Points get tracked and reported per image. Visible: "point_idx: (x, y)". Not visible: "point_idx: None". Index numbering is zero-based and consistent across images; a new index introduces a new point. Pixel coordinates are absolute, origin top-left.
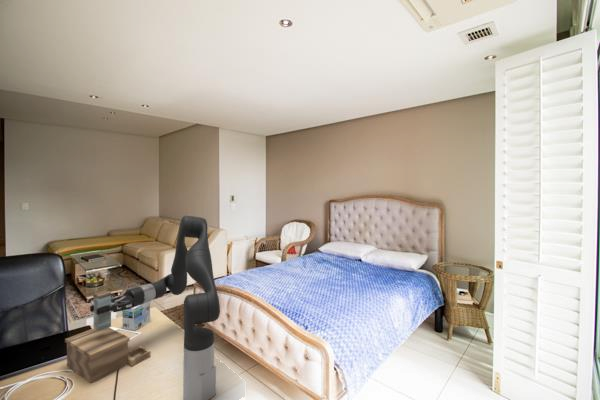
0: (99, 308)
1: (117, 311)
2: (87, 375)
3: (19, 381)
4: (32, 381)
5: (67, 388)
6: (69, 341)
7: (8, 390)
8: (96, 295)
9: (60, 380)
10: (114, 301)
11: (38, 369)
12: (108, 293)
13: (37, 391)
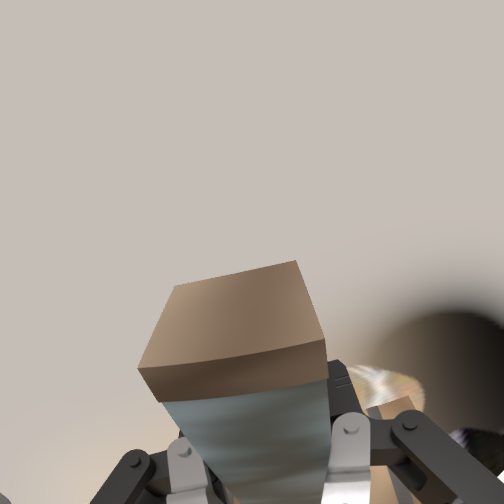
0: None
1: (144, 493)
2: None
3: (386, 375)
4: (366, 394)
5: None
6: (371, 407)
7: (361, 365)
8: (223, 281)
9: None
10: (202, 490)
11: (419, 398)
12: (151, 348)
13: None
